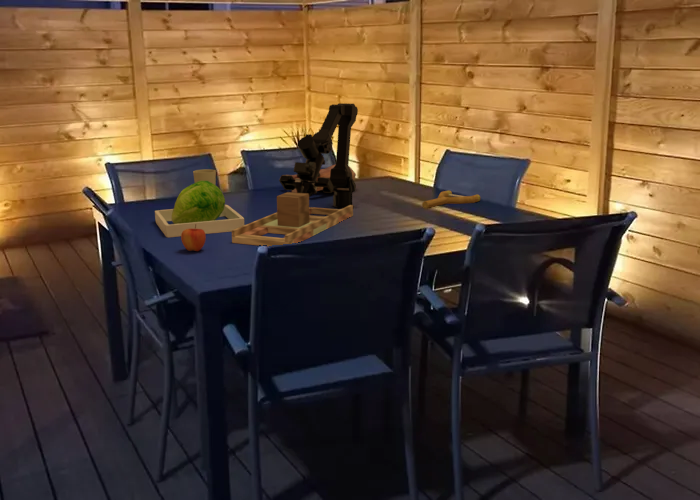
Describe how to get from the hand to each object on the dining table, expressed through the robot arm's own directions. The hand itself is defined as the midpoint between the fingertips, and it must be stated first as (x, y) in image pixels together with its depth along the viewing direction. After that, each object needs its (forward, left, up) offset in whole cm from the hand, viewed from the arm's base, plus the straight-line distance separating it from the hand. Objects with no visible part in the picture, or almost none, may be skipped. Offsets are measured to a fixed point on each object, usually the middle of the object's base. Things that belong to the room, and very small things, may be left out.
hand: (299, 203), depth 264 cm
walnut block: (+3, +3, -6) cm, 8 cm away
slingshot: (-66, -17, -9) cm, 68 cm away
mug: (+20, -64, -8) cm, 67 cm away
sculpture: (-30, -61, -9) cm, 69 cm away
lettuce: (+32, -17, -8) cm, 37 cm away
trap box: (+1, +2, -8) cm, 8 cm away
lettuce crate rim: (+32, -17, -8) cm, 37 cm away
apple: (+40, +17, -8) cm, 44 cm away
